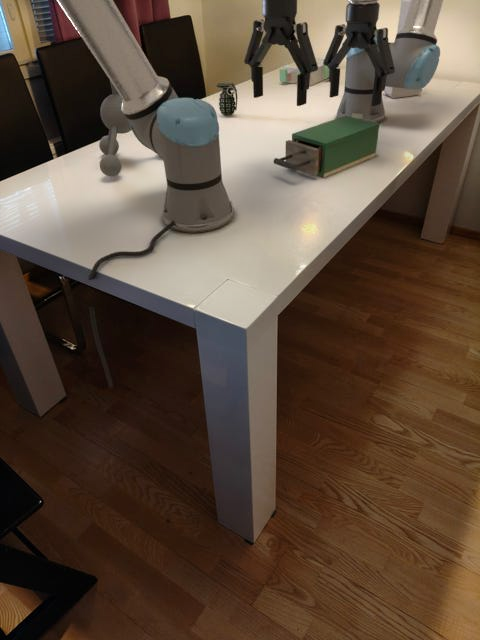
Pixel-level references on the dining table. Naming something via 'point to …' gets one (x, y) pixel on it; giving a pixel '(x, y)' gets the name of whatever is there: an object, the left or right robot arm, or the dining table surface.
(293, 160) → the drawer
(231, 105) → the grenade
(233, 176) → the dining table surface
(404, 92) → the electronic device
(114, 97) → the molecular model
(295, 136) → the cabinet
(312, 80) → the decorative block
